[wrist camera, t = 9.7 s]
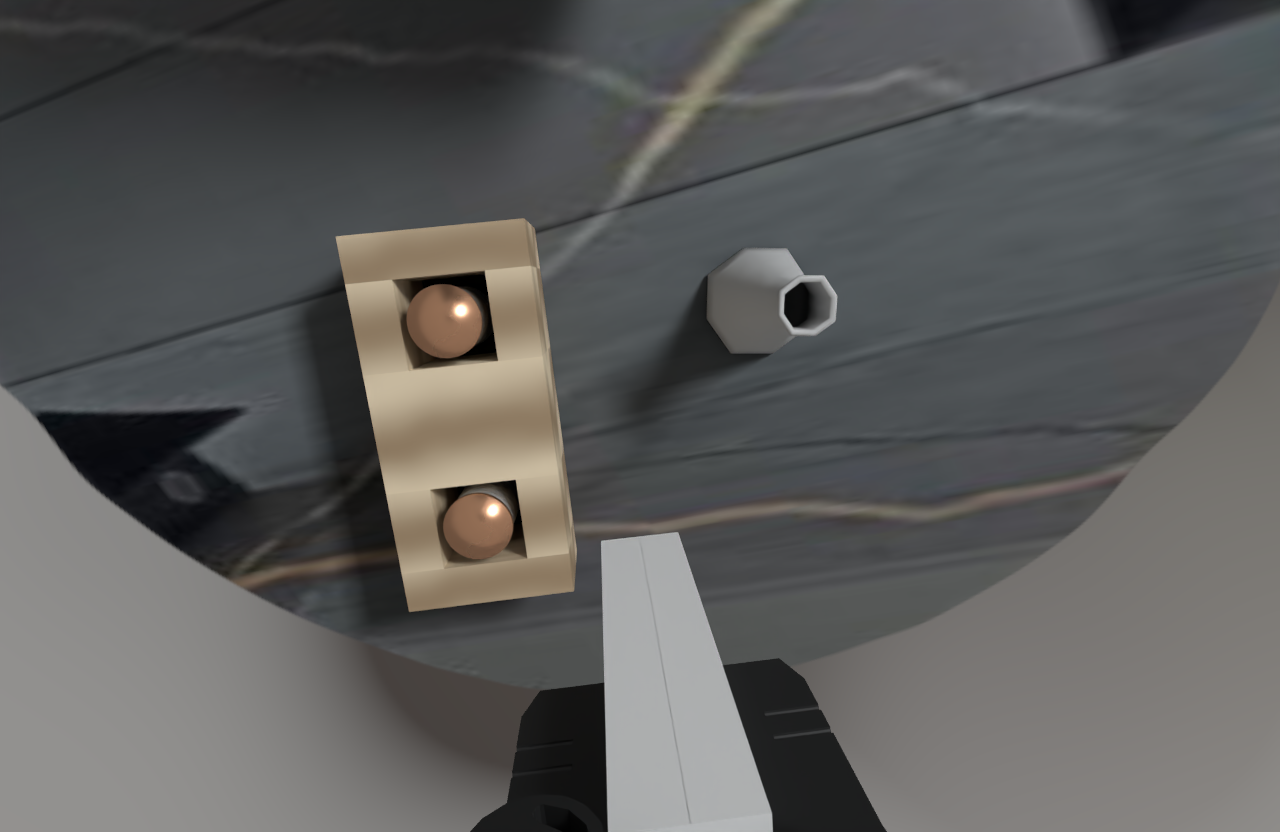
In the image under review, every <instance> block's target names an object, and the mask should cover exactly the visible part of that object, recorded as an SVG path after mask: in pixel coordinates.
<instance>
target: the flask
mask: <svg viewBox="0 0 1280 832" xmlns="http://www.w3.org/2000/svg"><path fill="white" fill-rule="evenodd" d="M836 308H837V295H836V293H835V292H834V290H833V289H832V287H831V286H830V284H829V282H828V281H827V279H826V278H825V276H812V275H804V274H803V272H802V271H801V269H800V268H799V266H798V265H797V263H796V262H795V260H794V259H793V257H792V256H791V254H790V252H789V251H788V249H787V248H743V249H741V250H740V251H739V252H737V253H736V254H735V255H733V256H732V257H731V258H729V259H728V260H727V261H725V262H724V263H723V264H721V265H720V266H719V267H717V268H716V269H715V270H713V271H712V272H711V273H709V274H708V288H707V320H708V322H709V323H710V324H711V326H712V327H713V329H714V330H715V332H716V333H717V334H718V336H719V337H720V339H721V340H722V342H723V343H724V344H725V346H726V347H727V349H728V350H729V351H730V353H731V354H773V353H774V352H776V351H777V350H778V349H780V348H781V347H782V346H784V345H785V344H786V343H788V342H789V341H791V340H792V339H793V338H795V337H796V336H816V335H817V334H819V333H820V332H822V331H823V330H824V329H826V328H827V327H828V326H830V325H831V324H832V323H834V322H835V321H836Z"/></svg>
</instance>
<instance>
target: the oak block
mask: <svg viewBox="0 0 1280 832" xmlns="http://www.w3.org/2000/svg"><path fill="white" fill-rule="evenodd" d="M336 241H337V246H338V251H339V256H340V261H341V266H342V271H343V276H344V282H345V287H346V292H347V297H348V302H349V307H350V312H351V317H352V322H353V328H354V333H355V338H356V343H357V348H358V353H359V358H360V363H361V368H362V374H363V379H364V384H365V389H366V394H367V399H368V404H369V409H370V414H371V420H372V425H373V430H374V435H375V440H376V445H377V450H378V455H379V460H380V466H381V471H382V476H383V481H384V486H385V491H386V496H387V501H388V506H389V511H390V517H391V522H392V527H393V532H394V537H395V542H396V547H397V552H398V557H399V563H400V568H401V573H402V578H403V583H404V588H405V593H406V598H407V603H408V609H409V612H413V611H421V610H429V609H437V608H445V607H453V606H461V605H469V604H477V603H485V602H493V601H500V600H508V599H516V598H524V597H532V596H540V595H548V594H556V593H564V592H572V591H574V583H575V569H576V554H577V549H576V541H575V533H574V526H573V518H572V510H571V503H570V495H569V487H568V480H567V472H566V464H565V457H564V449H563V441H562V434H561V426H560V418H559V411H558V403H557V396H556V388H555V380H554V373H553V365H552V357H551V350H550V342H549V334H548V327H547V319H546V311H545V304H544V296H543V288H542V281H541V273H540V265H539V258H538V250H537V242H536V235H535V228H534V227H533V226H531V225H530V224H529V223H528V222H527V221H526V220H525V219H524V218H523V219H513V220H502V221H492V222H481V223H471V224H461V225H450V226H440V227H430V228H419V229H409V230H399V231H388V232H378V233H368V234H357V235H347V236H337V237H336ZM475 275H485V276H486V283H487V290H488V296H489V303H490V310H491V316H492V323H493V330H494V337H495V343H496V350H497V352H494V353H485V354H476V355H466V356H457V357H454V358H438V359H435V356H432V355H430V354H428V353H426V352H424V351H423V350H422V349H420V348H419V347H418V346H417V345H416V344H415V342H414V341H413V339H412V338H411V336H410V334H409V331H408V327H407V311H408V307H409V305H410V303H411V301H412V299H413V298H414V297H415V296H416V295H417V294H418V293H419V292H420V291H421V290H423V284H422V281H425V280H435V279H445V278H455V277H465V276H475ZM508 480H516V484H517V491H518V498H519V505H520V511H521V518H522V524H514V526H513V533H512V536H511V539H510V541H509V543H508V545H507V546H506V547H505V548H504V550H502V551H501V552H500V553H499V554H497V555H495V556H493V557H490V558H487V559H471V558H467V557H464V556H462V555H460V554H459V553H457V552H456V551H455V550H454V549H453V548H452V547H451V546H450V545H449V544H448V542H447V540H446V538H445V535H444V530H443V523H444V518H445V515H446V513H447V511H448V510H449V508H450V507H451V505H452V504H453V503H454V502H455V501H456V500H457V499H458V497H459V495H458V489H457V486H466V485H474V484H483V483H491V482H500V481H508Z"/></svg>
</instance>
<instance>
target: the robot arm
mask: <svg viewBox="0 0 1280 832" xmlns="http://www.w3.org/2000/svg"><path fill="white" fill-rule="evenodd" d="M601 556H602V599H603V641H604V683H599V684H591V685H583V686H575V687H567V688H559V689H551V690H543V691H540V692H539V693H538V695H537V696H536V697H535V699H534V700H533V702H532V703H531V705H530V706H529V707H528V709H527V710H526V711H525V713H524V714H523V716H522V718H521V723H520V730H519V735H518V741H517V752H516V753H515V759H514V765H513V771H512V773H513V777H512V778H511V783H510V789H509V794H508V800H507V803H506V804H505V805H503V806H502V807H500V808H498V809H497V810H495V811H494V812H492V813H490V814H489V815H487V816H485V817H484V818H482V819H481V820H480V822H479V823H478V824H477V825H476V826H475V827H474V828H473V829H472V830H471V831H470V832H887V831H886V830H885V828H884V827H883V826H882V824H881V822H880V820H879V818H878V816H877V814H876V812H875V811H874V809H873V807H872V805H871V803H870V801H869V799H868V798H867V796H866V794H865V792H864V790H863V788H862V786H861V784H860V782H859V780H858V779H857V777H856V775H855V773H854V771H853V769H852V768H851V765H850V764H849V762H848V760H847V758H846V756H845V754H844V752H843V750H842V749H841V747H840V745H839V743H838V741H837V739H836V737H835V735H834V733H831V730H830V726H829V724H828V722H827V721H826V718H825V716H824V715H823V713H822V711H821V710H819V707H818V703H817V701H816V700H815V698H814V696H813V694H812V692H811V690H810V688H809V686H808V684H807V683H806V681H805V679H804V678H803V677H802V676H801V675H799V674H798V673H797V672H795V671H794V670H793V669H792V668H790V667H789V666H788V665H787V664H785V663H784V662H783V661H782V660H780V659H779V658H778V659H770V660H762V661H754V662H746V663H738V664H730V665H722V662H721V659H720V656H719V653H718V650H717V647H716V644H715V641H714V638H713V635H712V632H711V629H710V626H709V623H708V620H707V617H706V614H705V611H704V609H703V606H702V603H701V600H700V597H699V594H698V591H697V588H696V585H695V582H694V579H693V576H692V573H691V570H690V567H689V564H688V561H687V558H686V555H685V552H684V549H683V546H682V543H681V540H680V537H679V534H678V532H676V533H667V534H658V535H649V536H640V537H632V538H623V539H614V540H605V541H601Z"/></svg>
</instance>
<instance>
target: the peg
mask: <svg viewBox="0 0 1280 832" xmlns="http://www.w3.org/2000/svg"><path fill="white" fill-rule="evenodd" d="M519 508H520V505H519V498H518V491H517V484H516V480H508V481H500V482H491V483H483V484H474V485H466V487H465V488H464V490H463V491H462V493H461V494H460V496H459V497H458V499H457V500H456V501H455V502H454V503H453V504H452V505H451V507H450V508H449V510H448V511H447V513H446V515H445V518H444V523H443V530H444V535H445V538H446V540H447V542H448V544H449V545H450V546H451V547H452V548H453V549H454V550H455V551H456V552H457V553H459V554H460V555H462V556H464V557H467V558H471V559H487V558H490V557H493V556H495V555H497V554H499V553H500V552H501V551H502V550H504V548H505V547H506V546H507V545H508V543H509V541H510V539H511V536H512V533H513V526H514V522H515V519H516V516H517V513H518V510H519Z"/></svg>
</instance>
